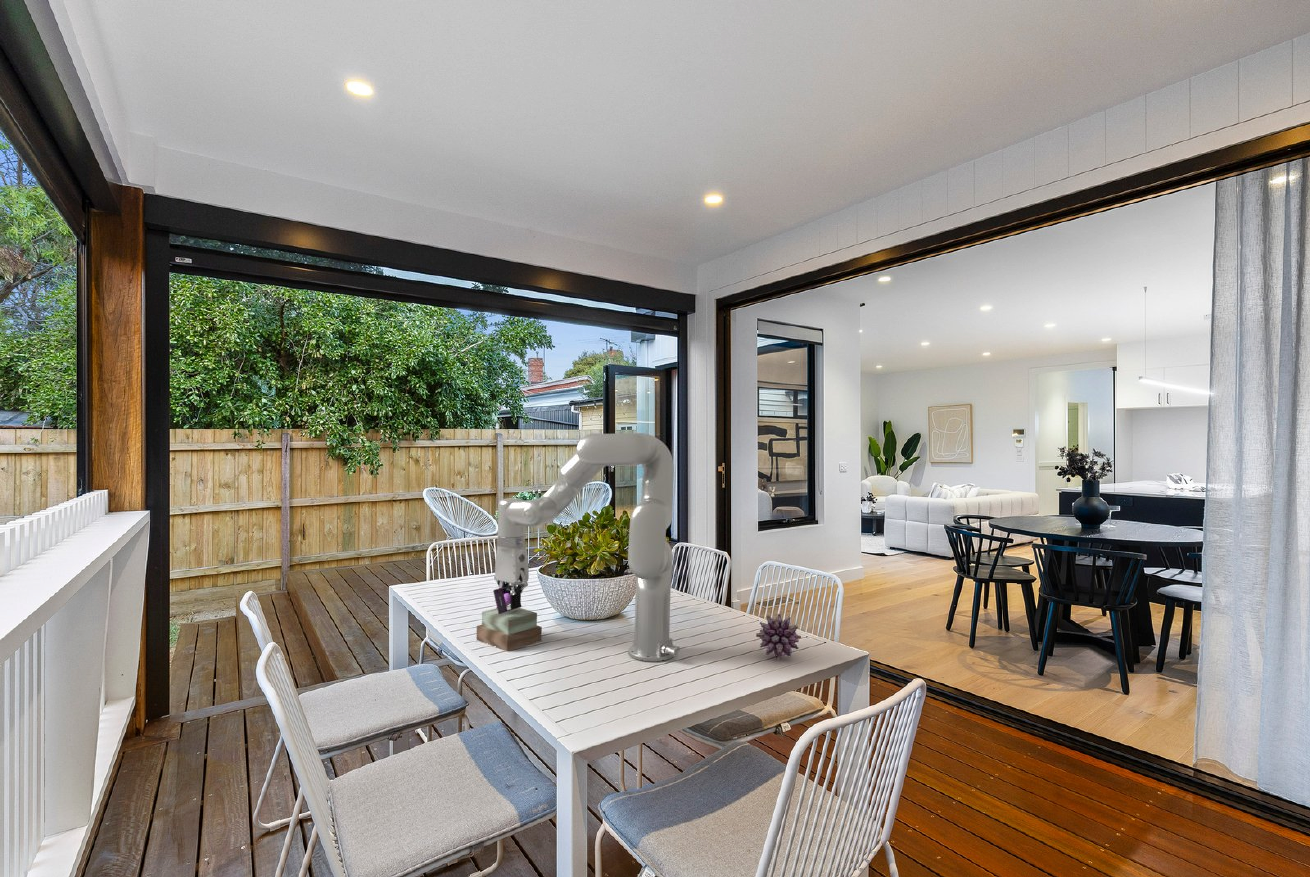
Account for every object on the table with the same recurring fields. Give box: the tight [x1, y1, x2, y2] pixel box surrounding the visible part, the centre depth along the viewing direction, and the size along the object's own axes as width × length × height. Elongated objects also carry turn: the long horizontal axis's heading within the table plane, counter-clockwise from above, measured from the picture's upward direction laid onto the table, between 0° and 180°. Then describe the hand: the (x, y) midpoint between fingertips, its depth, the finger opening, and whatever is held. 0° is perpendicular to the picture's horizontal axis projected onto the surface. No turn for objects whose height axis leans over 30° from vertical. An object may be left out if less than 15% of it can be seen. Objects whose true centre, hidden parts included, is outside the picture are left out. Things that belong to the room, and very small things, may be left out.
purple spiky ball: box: [755, 613, 802, 660], centre depth 171 cm, size 12×12×12 cm
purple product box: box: [492, 584, 522, 614], centre depth 179 cm, size 7×5×9 cm
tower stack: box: [476, 604, 543, 652], centre depth 180 cm, size 14×12×8 cm
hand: (510, 605), depth 180 cm, fingers closed on purple product box, 3 cm apart
